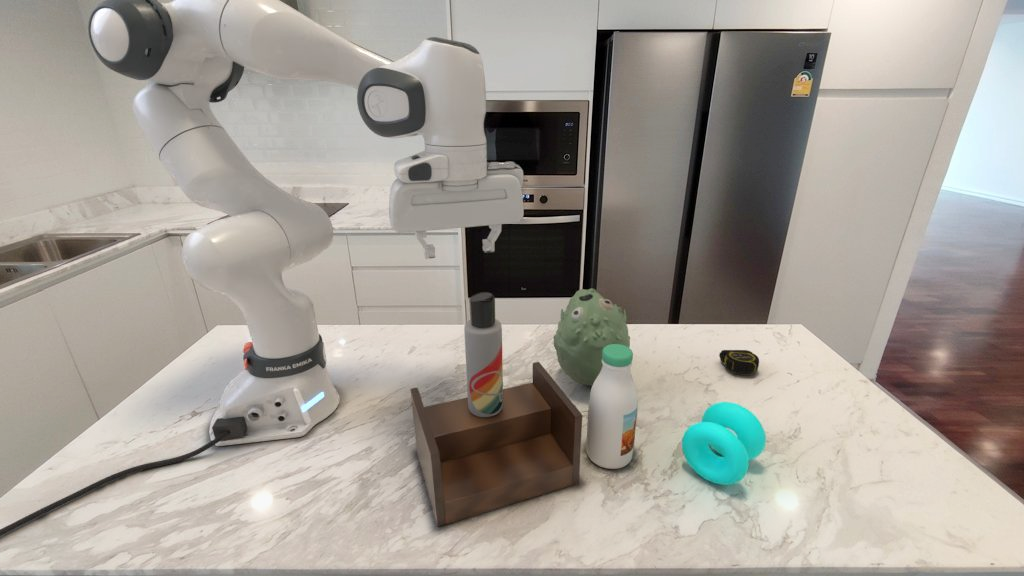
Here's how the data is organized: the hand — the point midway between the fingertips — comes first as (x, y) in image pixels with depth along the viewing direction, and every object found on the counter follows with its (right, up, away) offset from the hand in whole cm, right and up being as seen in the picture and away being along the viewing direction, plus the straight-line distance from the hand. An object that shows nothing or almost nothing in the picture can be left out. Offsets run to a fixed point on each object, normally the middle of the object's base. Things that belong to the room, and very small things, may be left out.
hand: (459, 254), depth 75 cm
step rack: (+5, -35, +3) cm, 35 cm away
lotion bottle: (+4, -25, +4) cm, 25 cm away
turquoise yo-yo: (+42, -34, +3) cm, 54 cm away
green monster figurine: (+25, -25, +27) cm, 44 cm away
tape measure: (+57, -23, +30) cm, 69 cm away
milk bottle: (+25, -33, +6) cm, 42 cm away
